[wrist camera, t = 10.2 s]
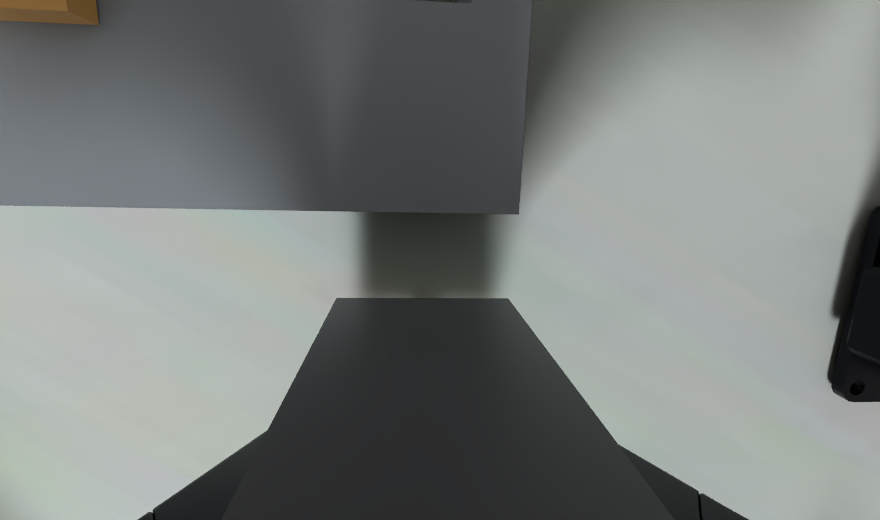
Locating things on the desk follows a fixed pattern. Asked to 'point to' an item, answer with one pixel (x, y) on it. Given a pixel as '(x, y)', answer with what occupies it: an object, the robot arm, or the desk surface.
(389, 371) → the grey box
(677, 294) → the desk surface
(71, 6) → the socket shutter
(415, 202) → the socket board
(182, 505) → the robot arm
